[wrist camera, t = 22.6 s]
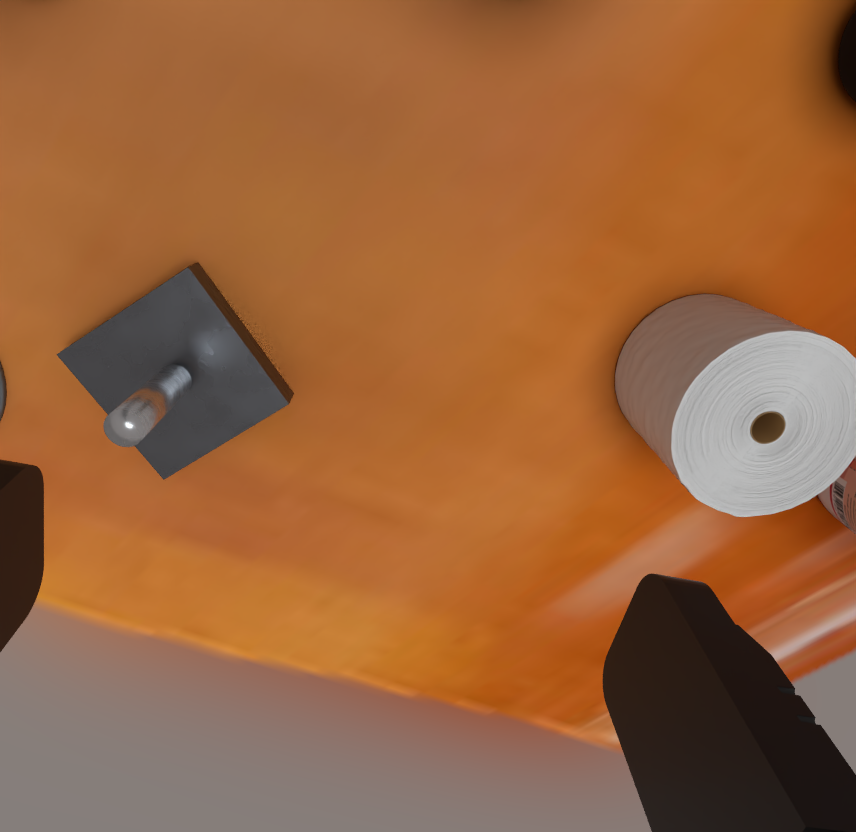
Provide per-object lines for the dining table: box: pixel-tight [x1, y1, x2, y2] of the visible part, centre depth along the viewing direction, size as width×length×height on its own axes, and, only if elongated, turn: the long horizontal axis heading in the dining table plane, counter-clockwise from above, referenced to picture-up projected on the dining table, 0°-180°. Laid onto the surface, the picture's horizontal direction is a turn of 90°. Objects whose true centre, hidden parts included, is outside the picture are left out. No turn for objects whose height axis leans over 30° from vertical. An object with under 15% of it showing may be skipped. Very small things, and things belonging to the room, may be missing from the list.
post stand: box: [57, 263, 294, 479], centre depth 38 cm, size 10×10×10 cm
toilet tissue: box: [615, 294, 856, 517], centre depth 39 cm, size 11×12×10 cm
